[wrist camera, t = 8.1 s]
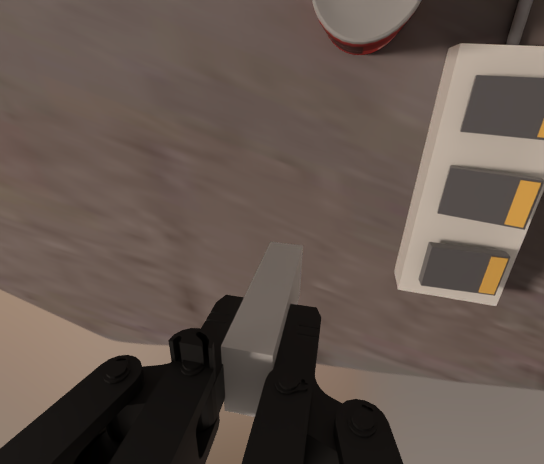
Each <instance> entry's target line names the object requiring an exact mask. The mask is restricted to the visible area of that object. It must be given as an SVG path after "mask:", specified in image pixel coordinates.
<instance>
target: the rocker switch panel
mask: <svg viewBox="0 0 544 464" xmlns="http://www.w3.org/2000/svg"><path fill="white" fill-rule="evenodd" d="M532 3H533V0H519V2H518V6H517V9H516V12H515V15H514V19H513V22H512V25H511V29H510V32H509V35H508V38H507V42H506V45H495V44H468V43H460V44H458V45H455V46H453V47H450V48H448V52H447V56H446V61H445V65H444V69H443V73H442V77H441V81H440V85H439V89H438V94H437V98H436V102H435V106H434V110H433V114H432V118H431V122H430V126H429V131H428V135H427V139H426V143H425V147H424V151H423V155H422V159H421V163H420V168H419V172H418V176H417V180H416V184H415V188H414V192H413V196H412V201H411V205H410V209H409V213H408V217H407V221H406V225H405V229H404V233H403V238H402V242H401V246H400V250H399V254H398V258H397V262H396V266H395V271H394V273H395V278H396V283H397V288H398V290H404V291H410V292H416V293H422V294H428V295H434V296H440V297H446V298H452V299H458V300H463V301H469V302H475V303H481V304H487V305H493V306H496V305H497V303H498V300H499V298H500V296H501V293H502V291H503V288H504V286H505V283H506V281H507V279H508V276H509V274H510V271H511V269H512V266H513V264H514V262H515V259H516V257H517V254H518V252H519V249H520V247H521V245H522V242H523V240H524V237H525V235H526V232H527V230H528V228H529V225H530V223H531V220H532V218H533V215H534V213H535V211H536V208H537V206H538V203H539V201H540V198H541V196H542V194H543V191H544V184H543V186H542V189H541V191H540V194H539V196H538V199H537V201H536V203H535V206H534V208H533V211H532V213H531V216H530V218H529V221H528V223H527V225H526V228H525V230H523V229H517V228H512V227H507V226H501V225H496V224H491V223H486V222H480V221H475V220H470V219H464V218H459V217H454V216H448V215H443V214H438V213H437V212H438V207H439V203H440V199H441V196H442V192H443V189H444V185H445V182H446V178H447V175H448V171H449V167H450V165H453V166H460V167H468V168H475V169H482V170H490V171H497V172H504V173H511V174H519V175H526V176H533V177H541V178H542V179H543V180H544V140H536V139H527V138H517V137H507V136H497V135H487V134H477V133H467V132H460V128H461V125H462V121H463V117H464V114H465V110H466V107H467V103H468V100H469V96H470V93H471V89H472V85H473V82H474V78H475V75H489V76H511V77H534V78H544V46H522V45H519V43H520V40H521V37H522V34H523V31H524V28H525V24H526V21H527V18H528V15H529V12H530V9H531V6H532ZM429 242H436V243H444V244H452V245H461V246H469V247H477V248H485V249H494V250H502V251H506V252H507V253H508V254H509V255H510V256H511V257H510V260H509V262H508V265H507V267H506V270H505V272H504V275H503V277H502V280H501V282H500V285H499V287H498V289H497V292H496V294H495V296H493V295H486V294H479V293H472V292H464V291H457V290H450V289H443V288H436V287H428V286H421V284H420V282H419V280H418V279H419V275H420V272H421V268H422V264H423V261H424V257H425V254H426V250H427V247H428V243H429Z"/></svg>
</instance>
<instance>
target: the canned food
mask: <svg viewBox="0 0 544 464" xmlns="http://www.w3.org/2000/svg"><path fill="white" fill-rule="evenodd" d="M421 1H422V0H312V2H313V6H314V10H315V12H316V14H317V17H318V19H319V21H320V23H321V25H322V26H323V28H324V30H325V31H326V33H327V35H328V36H329V38H330V39H331V41H332V42H333V43H334V44H335V45H336V46H337V47H338V48H339V49H340V50H342V51H344V52H346V53H349V54H353V55H365V54H370V53H372V52H375V51H377V50H379V49H381V48H382V47H384V46H385V45H387V44H388V43H389V42H390V41H391V40H392V39H393V38H394V37H395V36H396V35H397V33H398V32H399V31H400V30H401V29H402V27H403V26H404V25H405V24H406V23H407V21H408V20H409V19H410V17H411V16H412V15H413V14H414V12H415V11H416V9H417V8H418V6H419V4H420V2H421Z"/></svg>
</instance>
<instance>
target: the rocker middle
mask: <svg viewBox="0 0 544 464" xmlns="http://www.w3.org/2000/svg"><path fill="white" fill-rule="evenodd" d="M543 184H544V180H543V179H542V178H541V177H533V176H526V175H519V174H511V173H504V172H497V171H490V170H482V169H475V168H468V167H460V166H453V165H450V167H449V171H448V175H447V178H446V182H445V185H444V189H443V192H442V196H441V199H440V203H439V207H438V212H437V213H438V214H443V215H448V216H454V217H459V218H464V219H470V220H475V221H480V222H486V223H491V224H496V225H501V226H507V227H512V228H517V229H523V230H525V228H526V225H527V223H528V221H529V218H530V216H531V213H532V211H533V208H534V206H535V203H536V201H537V199H538V196H539V194H540V191H541V189H542V186H543Z"/></svg>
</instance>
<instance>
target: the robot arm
mask: <svg viewBox="0 0 544 464" xmlns="http://www.w3.org/2000/svg"><path fill="white" fill-rule="evenodd" d="M302 255H303V245H295V244H286V243H278V242H270V244H269V246H268V248H267V250H266V252H265V254H264V257H263V259H262V261H261V263H260V265H259V267H258V269H257V271H256V273H255V275H254V278H253V280H252V282H251V284H250V286H249V288H248V290H247V292H246V294H245V297H237V296H231V295H225V296H224V297H223V298H221V299H220V300H219V301H217V302H216V304H215V305H214V307H213V309H212V311H211V313H210V314H209V316H208V317H207V320H206V321H205V323H204V324H203V326H202V328H201V329H200V328H190V329H186V330H182V331H180V332H178V333H176V334H174V335H173V336H172V337H171V338H170V339H169V347H170V353H171V360H172V362H171V363H168V364H164V365H156V366H146V367H142V365H141V362H140V360H139V359H137V358H136V357H134V356H129V355H122V356H117V357H114V358H111V359H109V360H108V361H106V362H104V363H103V364H101V365H100V366H99V367H98V368H96V369H95V370H94V371H93V372H92V373H91V374H89V375H88V376H87V377H86V378H85V379H83V380H82V381H81V382H80V383H78V384H77V385H76V386H75V387H74V388H73V389H71V390H70V391H69V392H68V393H66V394H65V395H64V396H63V397H62V398H60V399H59V400H58V401H57V402H56V403H54V404H53V405H52V406H51V407H50V408H48V409H47V410H46V411H45V412H44V413H43V414H41V415H40V416H39V417H38V418H36V419H35V420H34V421H33V422H32V423H30V424H29V425H28V426H27V427H26V428H24V429H23V430H22V431H21V432H20V433H18V434H17V435H16V436H15V437H14V438H12V439H11V440H10V441H9V442H8V443H7V444H5V445H4V446H3V447H2V448H0V464H205V462H206V460H207V457H208V455H209V452H210V449H211V446H212V444H213V441H214V438H215V435H216V433H217V430H218V427H219V421H220V420H219V412H220V409H221V407H222V404H223V402H224V404H225V411H230V412H234V413H239V414H243V415H248V416H253V417H255V419H254V422H253V425H252V429H251V433H250V436H249V440H248V443H247V447H246V450H245V454H244V457H243V461H242V464H403V462H402V459H401V456H400V453H399V450H398V448H397V445H396V442H395V439H394V437H393V434H392V432H391V428H390V426H389V423H388V421H387V419H386V417H385V415H384V414H383V413H382V411H380V410H379V409H378V408H377V407H376V406H375V405H373V404H371V403H369V402H367V401H365V400H358V399H353V400H348V401H346V402H344V403H343V404H342V403H340V402H339V401H337V400H335V399H333V398H331V397H330V396H328V395H327V394H325V393H324V392H323V391H322V390H321V389H320V387H319V386H318V384H317V382H316V379H315V368H316V359H317V351H318V342H319V333H320V324H321V316H320V314H319V312H318V309H317V308H316V307H309V306H302V305H298V300H299V296H300V283H301V269H302Z"/></svg>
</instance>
